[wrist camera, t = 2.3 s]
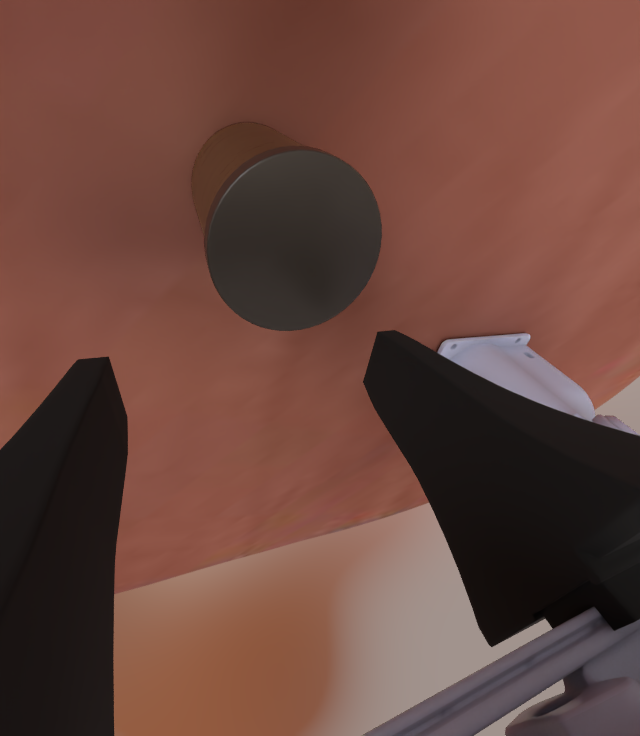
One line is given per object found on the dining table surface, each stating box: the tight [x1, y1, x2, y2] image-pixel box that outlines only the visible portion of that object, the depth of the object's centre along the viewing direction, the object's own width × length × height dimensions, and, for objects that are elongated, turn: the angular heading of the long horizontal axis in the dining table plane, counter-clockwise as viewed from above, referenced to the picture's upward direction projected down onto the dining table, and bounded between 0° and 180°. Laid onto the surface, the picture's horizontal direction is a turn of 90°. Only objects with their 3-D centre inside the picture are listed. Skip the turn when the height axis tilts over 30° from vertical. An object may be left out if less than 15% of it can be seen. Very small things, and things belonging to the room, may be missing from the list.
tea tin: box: [191, 123, 382, 331], centre depth 13 cm, size 6×6×7 cm
